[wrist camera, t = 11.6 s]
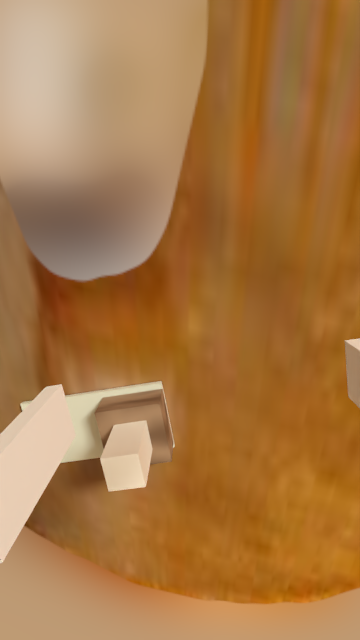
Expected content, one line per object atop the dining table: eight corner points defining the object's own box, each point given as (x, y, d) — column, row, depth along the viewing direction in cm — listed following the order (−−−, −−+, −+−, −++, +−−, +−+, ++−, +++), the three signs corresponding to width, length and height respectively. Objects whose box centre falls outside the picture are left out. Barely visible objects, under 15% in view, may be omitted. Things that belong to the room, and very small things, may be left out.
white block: (113, 424, 51) (100, 458, 43) (146, 420, 50) (138, 453, 43) (120, 453, 52) (108, 491, 44) (152, 449, 52) (145, 486, 44)
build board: (22, 402, 57) (20, 404, 56) (161, 380, 55) (161, 383, 54) (41, 462, 60) (39, 465, 59) (174, 444, 58) (174, 447, 57)
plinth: (102, 397, 55) (94, 413, 50) (162, 388, 55) (159, 403, 50) (116, 450, 58) (109, 469, 53) (173, 442, 57) (171, 461, 52)
